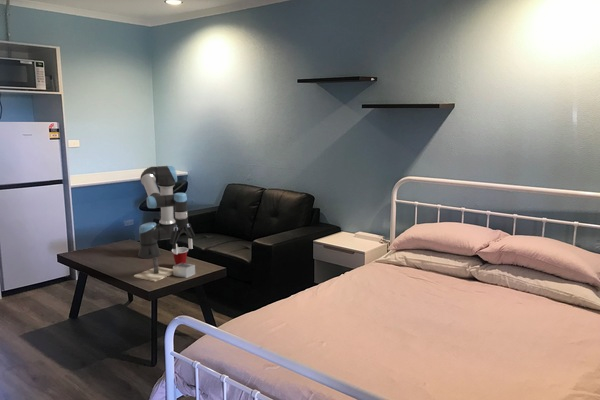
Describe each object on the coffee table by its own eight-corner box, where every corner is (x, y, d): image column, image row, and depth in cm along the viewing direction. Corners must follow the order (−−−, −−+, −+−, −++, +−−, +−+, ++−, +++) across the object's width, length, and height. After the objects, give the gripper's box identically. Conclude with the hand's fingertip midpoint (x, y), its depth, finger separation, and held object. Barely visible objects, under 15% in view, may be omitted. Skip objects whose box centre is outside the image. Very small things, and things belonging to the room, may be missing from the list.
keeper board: (157, 267, 312) (156, 251, 310) (178, 272, 303) (177, 254, 301) (133, 276, 294) (132, 259, 292) (155, 281, 286) (153, 263, 284)
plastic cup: (172, 270, 307) (171, 252, 305) (172, 265, 317) (171, 247, 315) (189, 268, 310) (188, 250, 308) (188, 263, 320) (187, 246, 318)
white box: (182, 271, 304) (181, 262, 303) (195, 274, 299) (194, 265, 298) (173, 275, 297) (172, 266, 296) (186, 277, 292) (186, 268, 291)
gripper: (171, 222, 279) (173, 257, 283) (199, 214, 301) (201, 247, 304) (162, 221, 283) (164, 255, 286) (190, 213, 304) (192, 245, 308)
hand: (183, 251), depth 295 cm, fingers open, 13 cm apart
